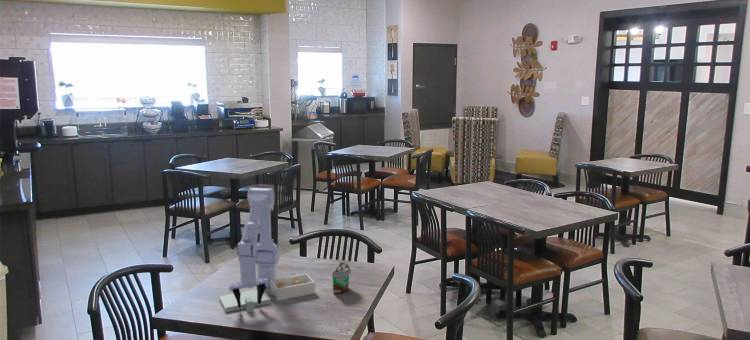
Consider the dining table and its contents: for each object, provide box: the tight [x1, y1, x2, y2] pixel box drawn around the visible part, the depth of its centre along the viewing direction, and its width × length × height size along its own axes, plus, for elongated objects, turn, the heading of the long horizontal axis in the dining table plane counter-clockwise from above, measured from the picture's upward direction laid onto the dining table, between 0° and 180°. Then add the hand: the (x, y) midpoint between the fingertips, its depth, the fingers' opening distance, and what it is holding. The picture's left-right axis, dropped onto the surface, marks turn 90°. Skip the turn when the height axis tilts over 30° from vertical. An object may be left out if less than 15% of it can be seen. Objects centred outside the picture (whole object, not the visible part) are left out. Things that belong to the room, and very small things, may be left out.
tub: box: [269, 273, 316, 301], centre depth 222 cm, size 10×16×5 cm, turn 117°
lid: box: [218, 288, 271, 313], centre depth 211 cm, size 15×18×4 cm
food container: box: [331, 262, 352, 295], centre depth 224 cm, size 12×6×10 cm, turn 168°
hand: (249, 304), depth 206 cm, fingers open, 7 cm apart
